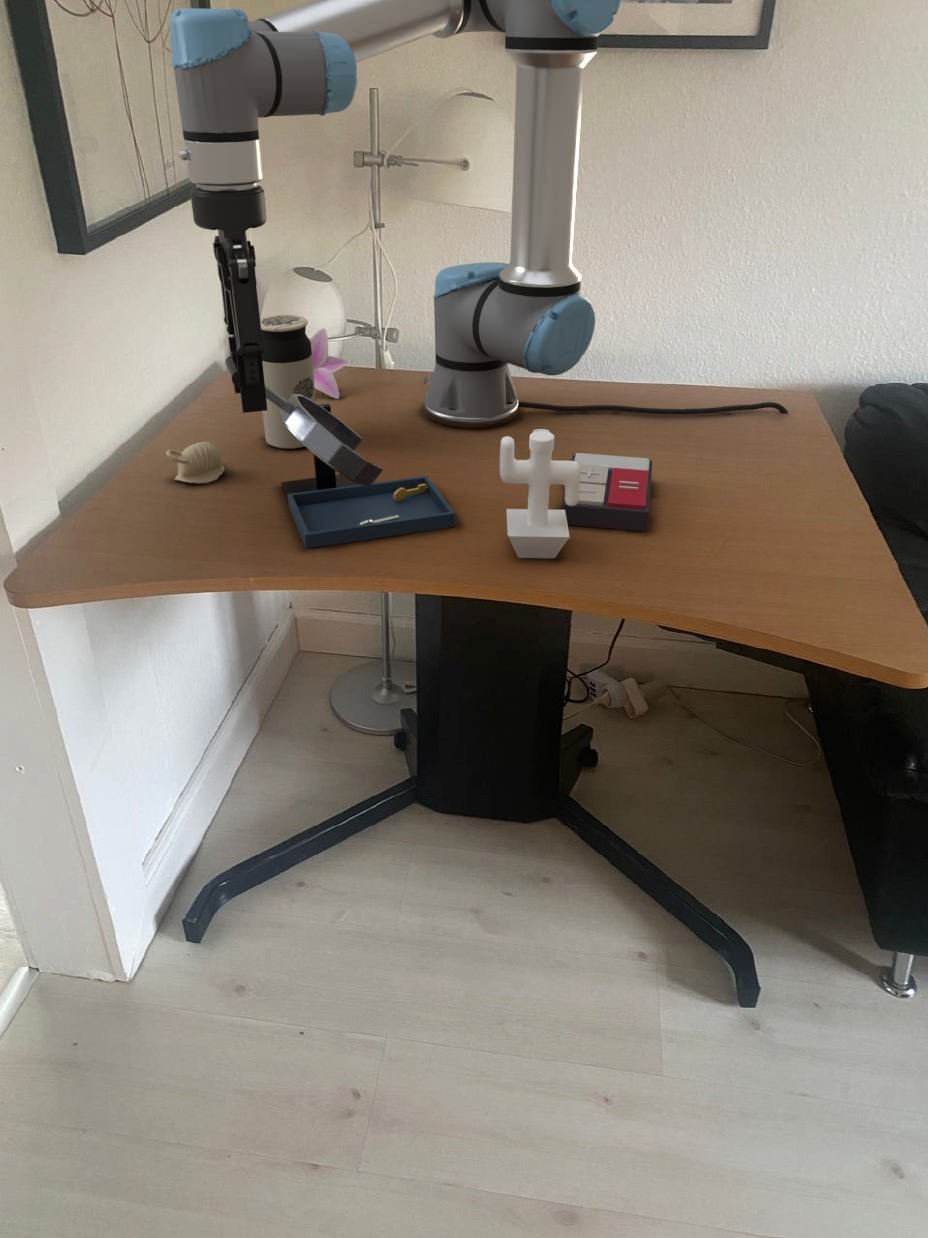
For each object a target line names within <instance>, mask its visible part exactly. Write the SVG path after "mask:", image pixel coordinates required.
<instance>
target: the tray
mask: <svg viewBox="0 0 928 1238" xmlns="http://www.w3.org/2000/svg"><path fill="white" fill-rule="evenodd" d="M420 484H426V486H427V487H428V488H427V491H426V492H424V493H419V494H415V495H410V496H405V498H404V499H403V500H401V501H395V500H394V498H393V495H394V493H395V491H396V490H397V489H399V488H401V487H402V488H405V489H406V490H408V489H413V488H417V486H418V485H420ZM287 495H288V502H287V504H288V509H289V512H290V513H291V515H292V516H291V517H292V518H293V520H294V523H295V525H296V527H297V530H298V532H299V535H300V537H301V539H302V542H303V544H304V547H305V549H313V548H314V549H315V548H320V547H326V546H327V547H328V546H332V545H340V544H347V543H352V542H353V543H354V542H360V541H366V540H373V539H379V538H386V537H393V536H401V535H406V534H407V535H408V534H413V533H421V532H426V531H432V530H441V529H447V528H455V527H456V512H455V510H454V509H453V508H452V507H451V505H450V504H449V503H448V501H447V500H446V499H445V498H444V496H443V495H442V493H441V492H440V491H439V489H438V488H437V486H436V485H435V484H434V483H433V481H432V480H431V479H430V477H429V476H428V475H422V476H414V477H407V478H398V479H391V480H383V481H374V482H373V483H372V484H371V486H370V487H367V486H362V485H353V486H345V487H338V488H330V489H322V490H315V491H307V492H300V493H292V494H287ZM395 515H399V519H397V520H390V521H383V522H376V523H369V524H362V525H359V524H360V523H361V522H363V521H365V520H372V521H374V520H378V519H382V518H387V517H391V516H395Z"/></svg>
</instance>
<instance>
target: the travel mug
mask: <svg viewBox="0 0 928 1238" xmlns="http://www.w3.org/2000/svg"><path fill="white" fill-rule="evenodd" d="M308 323H309V322H308V320H307V319H306V317H304V316H300V315H296V314H272V315H266V316H262V317H260V324H261V333H262V342H263V345H264V352H263V354H262V362H263V372H264V382H265V386H267V387H268V388H270V389H271V390H272V391H274V392H275V393H277V394H278V395H280V396H281V397H282V398H284V399H285V400H287V401H288V400H289V399H290V397H291V396H292V395H293V394H302V395H303V396H305V397H307V398H309V399H310V400H312V401H314V402H316V403H317V401H316V388H315V387H314V375H313V362H312V350H311V342H310V339H309V337H308V335H307V333H306V331H307V329H306V328H307V325H308ZM266 401H267V411H262V419H263V420H262V421H263V428H264V438H265V442H266V443H267V444H268V445H269V446H272V447H275V448H277V449H284V450H285V449H286V450H294V449H301V448H306V447H305V446H304V445H303V444H302V443H301V442H300V441H299V440H298V439H297V438H296V437H295V436H294V435H293V434H292V433H291V432H290V431H289V429H288V428H287V427H286V425H285V424H284V422H283V420H282V416H281V414H280V411H281V408H280V407H278V406H277V405H276V404H274V403H273V402H271V401H270V400H268V399H267V398H266Z"/></svg>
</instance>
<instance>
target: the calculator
mask: <svg viewBox="0 0 928 1238" xmlns="http://www.w3.org/2000/svg"><path fill="white" fill-rule="evenodd" d="M570 461H574V462H576V463H577V464H578V465H579V468H580V486H579V499H578V503H577V504H576V505H575V506H569V505H567V504H566V502H565V490H564V492H563V496H562V500H561V509H560V510H565V513H566V519H567V524H568V526H576V527H577V526H579V527H586V528H587V527H589V528H599V529H610V530H611V529H612V530H622V531H632V532H642V533H643V532H646V531H647V530H648V524H649V516H650V504H651V492H652V491H651V489H652V478H653V477H652V476H653V460H652V459H649V458H647V457H634V456H623V455H622V456H621V455H609V454H598V453H597V454H596V453H586V452H585V453H584V452H576V453H574V454H572V457H571V460H570Z"/></svg>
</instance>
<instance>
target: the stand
mask: <svg viewBox="0 0 928 1238" xmlns="http://www.w3.org/2000/svg"><path fill="white" fill-rule="evenodd" d="M319 405H320V406H322V407H323V408H325V409H326V410H327V411H329V412H330V413H331V414H332V406H331V404H330V403H321V404H319ZM312 455H313V466H314V477H311V478H303V479H295V480H288V481H281V482H280V485H281V490H282V492H283V496H284V497H285V501H286V503H288V495H287V494H292V493H300V492H307V491H315V490H322V489H330V488H338V487H345V486H353V485H359V484H357V483H355V482H353V481H351V480H349V479H347V478H346V477H344V476H343V475H341V474H336V471H335V470H334V469H332V468H331V467H330V466H328V465H327V464H326V463H324V462H323V461H322V460H321V459H319V458H318V457H317V456H316V455H314V454H313V453H312Z"/></svg>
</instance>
